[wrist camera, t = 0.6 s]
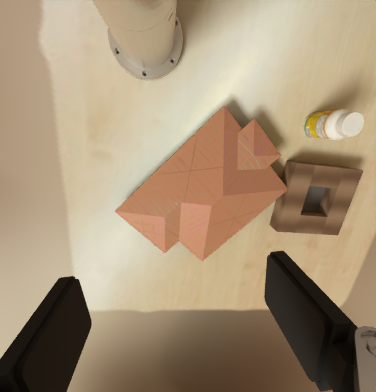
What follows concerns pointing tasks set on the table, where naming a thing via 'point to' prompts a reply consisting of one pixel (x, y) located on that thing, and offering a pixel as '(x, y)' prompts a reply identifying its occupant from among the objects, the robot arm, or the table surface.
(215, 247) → the house
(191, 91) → the table surface
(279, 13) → the table surface
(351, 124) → the supplement bottle
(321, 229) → the holder
